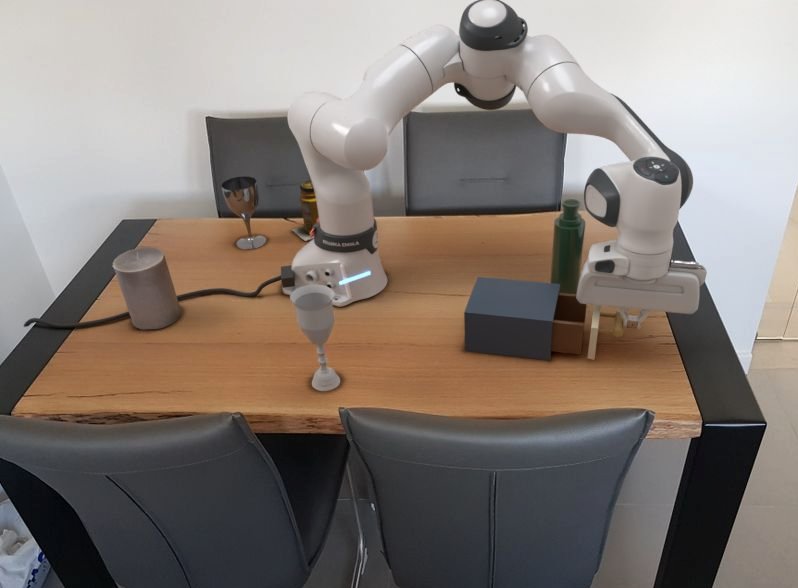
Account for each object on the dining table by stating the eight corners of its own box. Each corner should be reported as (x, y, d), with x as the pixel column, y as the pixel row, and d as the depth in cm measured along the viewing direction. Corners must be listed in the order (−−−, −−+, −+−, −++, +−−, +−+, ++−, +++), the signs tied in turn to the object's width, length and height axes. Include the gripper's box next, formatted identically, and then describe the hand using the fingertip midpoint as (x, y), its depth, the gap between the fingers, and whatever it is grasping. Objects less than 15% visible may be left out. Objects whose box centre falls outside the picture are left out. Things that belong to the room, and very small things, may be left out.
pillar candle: (166, 299, 151) (147, 236, 143) (190, 316, 146) (171, 251, 137) (123, 318, 146) (101, 254, 137) (146, 336, 140) (124, 270, 132)
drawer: (621, 326, 134) (625, 295, 130) (619, 362, 125) (623, 330, 121) (521, 316, 138) (523, 286, 134) (512, 350, 129) (513, 319, 125)
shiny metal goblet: (264, 249, 168) (252, 189, 159) (231, 250, 168) (217, 191, 159) (270, 233, 174) (259, 175, 165) (238, 235, 174) (225, 177, 165)
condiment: (336, 231, 173) (330, 185, 166) (305, 241, 170) (297, 194, 163) (322, 221, 178) (316, 175, 171) (292, 230, 175) (284, 184, 168)
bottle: (547, 299, 144) (553, 208, 132) (550, 284, 149) (557, 195, 137) (577, 302, 143) (586, 210, 131) (579, 287, 147) (588, 197, 136)
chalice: (298, 389, 125) (281, 302, 114) (316, 366, 130) (302, 281, 119) (335, 397, 122) (322, 310, 112) (352, 374, 127) (341, 288, 117)
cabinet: (557, 322, 138) (560, 283, 132) (549, 360, 128) (552, 321, 123) (477, 313, 141) (477, 276, 136) (464, 350, 131) (464, 312, 126)
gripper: (707, 253, 118) (692, 322, 126) (582, 244, 123) (575, 311, 131) (709, 272, 113) (694, 343, 121) (579, 261, 118) (572, 330, 126)
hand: (631, 326), depth 126 cm, fingers closed
